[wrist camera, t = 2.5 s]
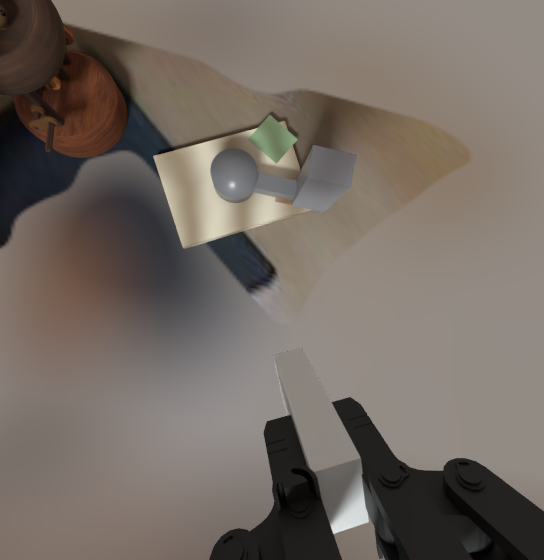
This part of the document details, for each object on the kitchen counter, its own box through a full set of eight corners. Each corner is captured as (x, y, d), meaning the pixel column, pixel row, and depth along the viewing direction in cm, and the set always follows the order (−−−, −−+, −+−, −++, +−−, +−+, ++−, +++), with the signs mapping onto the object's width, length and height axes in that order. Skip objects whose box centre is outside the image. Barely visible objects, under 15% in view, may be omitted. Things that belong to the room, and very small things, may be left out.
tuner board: (184, 248, 36) (182, 247, 35) (153, 151, 36) (150, 146, 35) (316, 208, 38) (319, 205, 37) (286, 115, 38) (288, 109, 37)
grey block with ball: (209, 198, 36) (198, 166, 26) (217, 156, 36) (208, 110, 27) (322, 220, 37) (349, 197, 28) (329, 180, 37) (357, 143, 28)
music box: (24, 56, 35) (-214, -240, 16) (126, 62, 37) (27, -195, 18) (31, 186, 35) (-206, 48, 15) (133, 185, 37) (41, 61, 17)
